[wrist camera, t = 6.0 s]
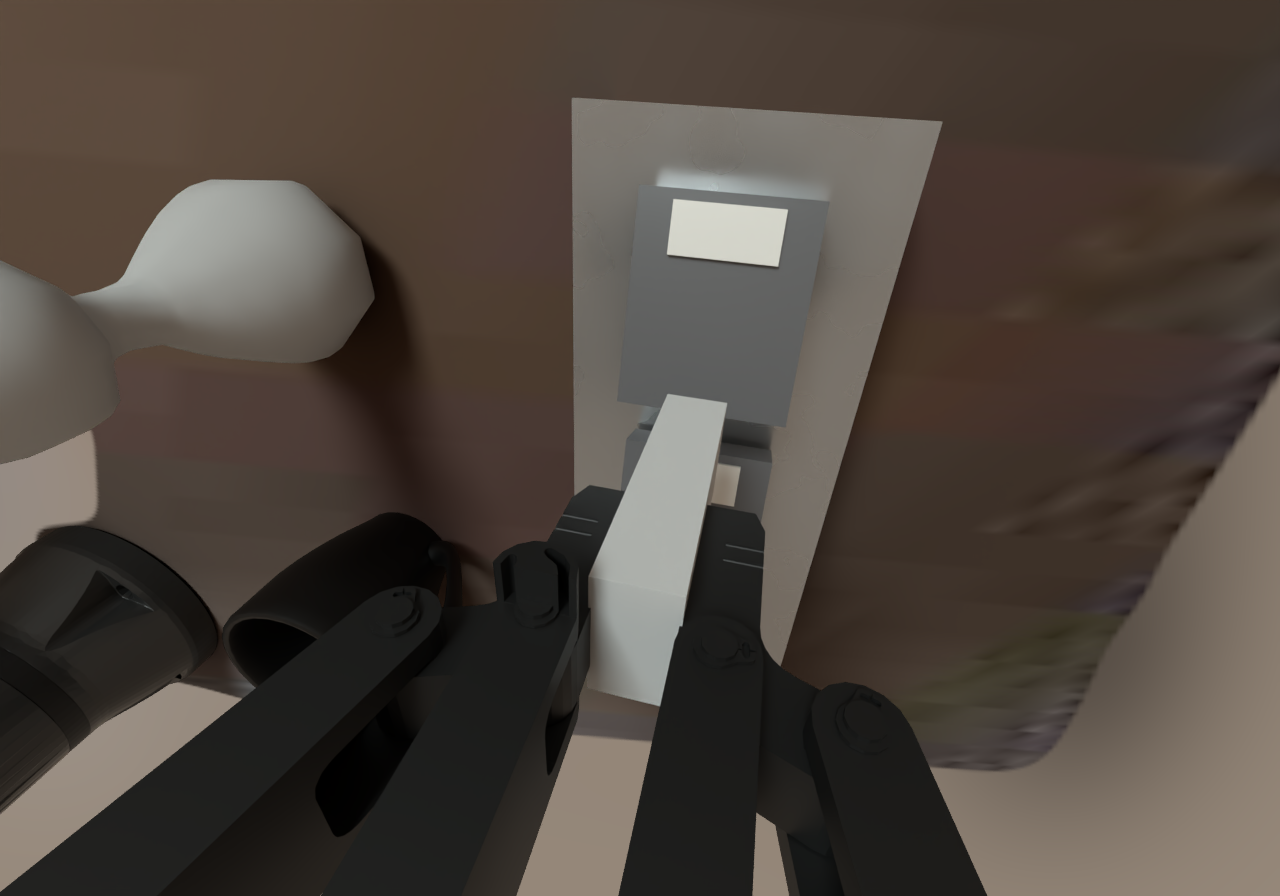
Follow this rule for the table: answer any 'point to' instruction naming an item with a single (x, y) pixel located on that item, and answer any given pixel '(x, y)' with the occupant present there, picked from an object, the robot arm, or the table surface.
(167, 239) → the figurine
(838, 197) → the console
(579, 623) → the robot arm
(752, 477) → the switch
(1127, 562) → the table surface
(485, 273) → the table surface
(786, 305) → the switch
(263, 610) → the mug
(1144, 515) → the table surface
